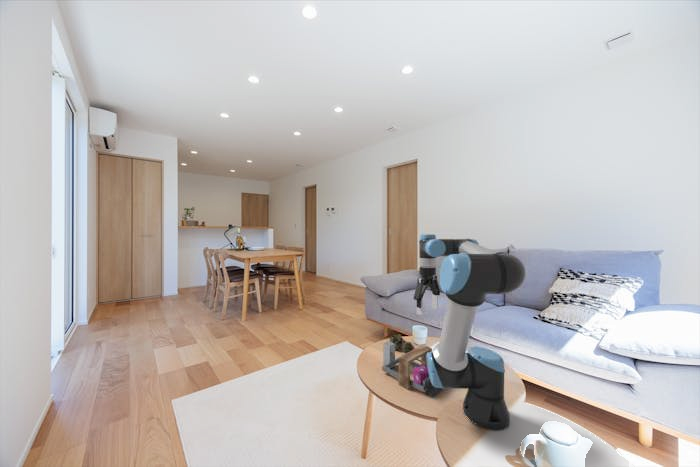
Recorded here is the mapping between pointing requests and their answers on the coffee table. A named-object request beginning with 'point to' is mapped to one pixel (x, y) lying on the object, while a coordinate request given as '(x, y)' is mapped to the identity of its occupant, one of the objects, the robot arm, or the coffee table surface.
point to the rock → (401, 343)
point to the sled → (390, 362)
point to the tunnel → (407, 359)
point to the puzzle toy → (420, 374)
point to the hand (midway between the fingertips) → (427, 311)
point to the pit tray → (433, 391)
